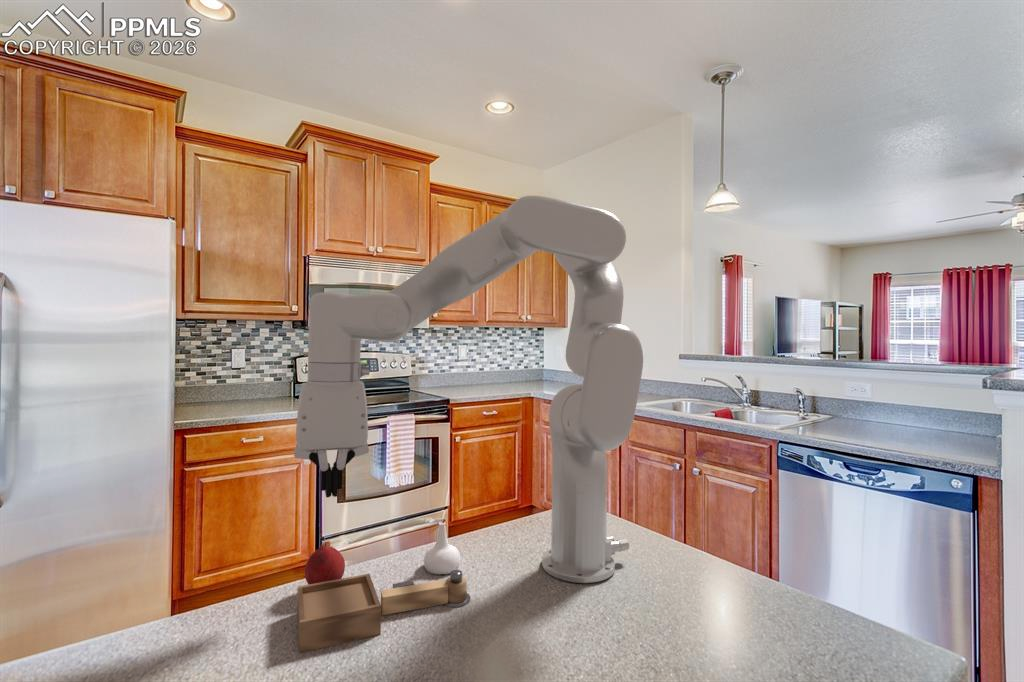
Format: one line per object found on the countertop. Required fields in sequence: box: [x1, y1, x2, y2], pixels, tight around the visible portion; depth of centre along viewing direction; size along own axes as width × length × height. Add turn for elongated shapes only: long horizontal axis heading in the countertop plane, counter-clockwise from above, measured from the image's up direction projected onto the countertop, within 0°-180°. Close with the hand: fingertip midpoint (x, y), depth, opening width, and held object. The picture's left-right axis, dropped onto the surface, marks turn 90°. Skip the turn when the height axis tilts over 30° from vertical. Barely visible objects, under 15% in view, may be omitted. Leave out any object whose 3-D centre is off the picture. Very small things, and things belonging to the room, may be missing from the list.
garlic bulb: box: [423, 522, 462, 576], centre depth 87 cm, size 6×6×8 cm
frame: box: [392, 569, 471, 608], centre depth 75 cm, size 11×5×4 cm, turn 115°
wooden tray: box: [296, 573, 382, 654], centre depth 69 cm, size 10×10×4 cm
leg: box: [380, 576, 468, 616], centre depth 74 cm, size 13×3×2 cm, turn 111°
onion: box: [304, 539, 346, 585], centre depth 78 cm, size 6×6×8 cm
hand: (331, 494), depth 76 cm, fingers closed
